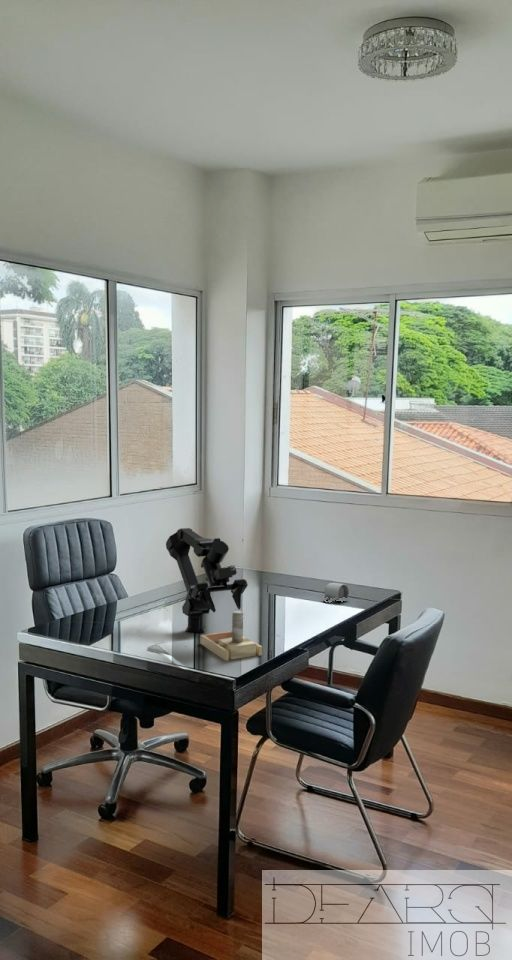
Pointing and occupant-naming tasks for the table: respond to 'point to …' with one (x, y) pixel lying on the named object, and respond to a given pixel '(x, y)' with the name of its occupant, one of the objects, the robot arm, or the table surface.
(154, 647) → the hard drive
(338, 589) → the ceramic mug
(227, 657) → the frame
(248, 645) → the peg on wooden base
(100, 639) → the table surface
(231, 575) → the robot arm
